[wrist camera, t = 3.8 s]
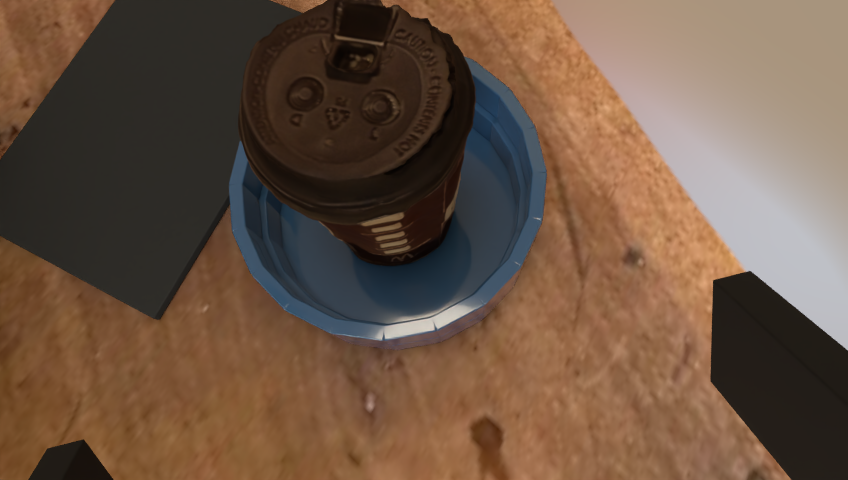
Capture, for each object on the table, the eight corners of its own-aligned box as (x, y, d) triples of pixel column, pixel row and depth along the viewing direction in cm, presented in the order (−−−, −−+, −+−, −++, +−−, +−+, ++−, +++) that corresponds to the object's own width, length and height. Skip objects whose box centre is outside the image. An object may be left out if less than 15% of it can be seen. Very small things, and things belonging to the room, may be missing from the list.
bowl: (215, 275, 31) (170, 251, 26) (344, 58, 34) (324, 2, 30) (461, 400, 28) (460, 399, 24) (576, 151, 32) (595, 106, 27)
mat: (-32, 217, 33) (-40, 214, 33) (153, -41, 38) (149, -48, 37) (159, 320, 31) (153, 318, 30) (334, 30, 35) (332, 24, 34)
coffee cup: (412, 112, 33) (378, -68, 20) (506, 217, 30) (533, 89, 18) (290, 202, 32) (174, 72, 19) (378, 318, 29) (311, 257, 17)
